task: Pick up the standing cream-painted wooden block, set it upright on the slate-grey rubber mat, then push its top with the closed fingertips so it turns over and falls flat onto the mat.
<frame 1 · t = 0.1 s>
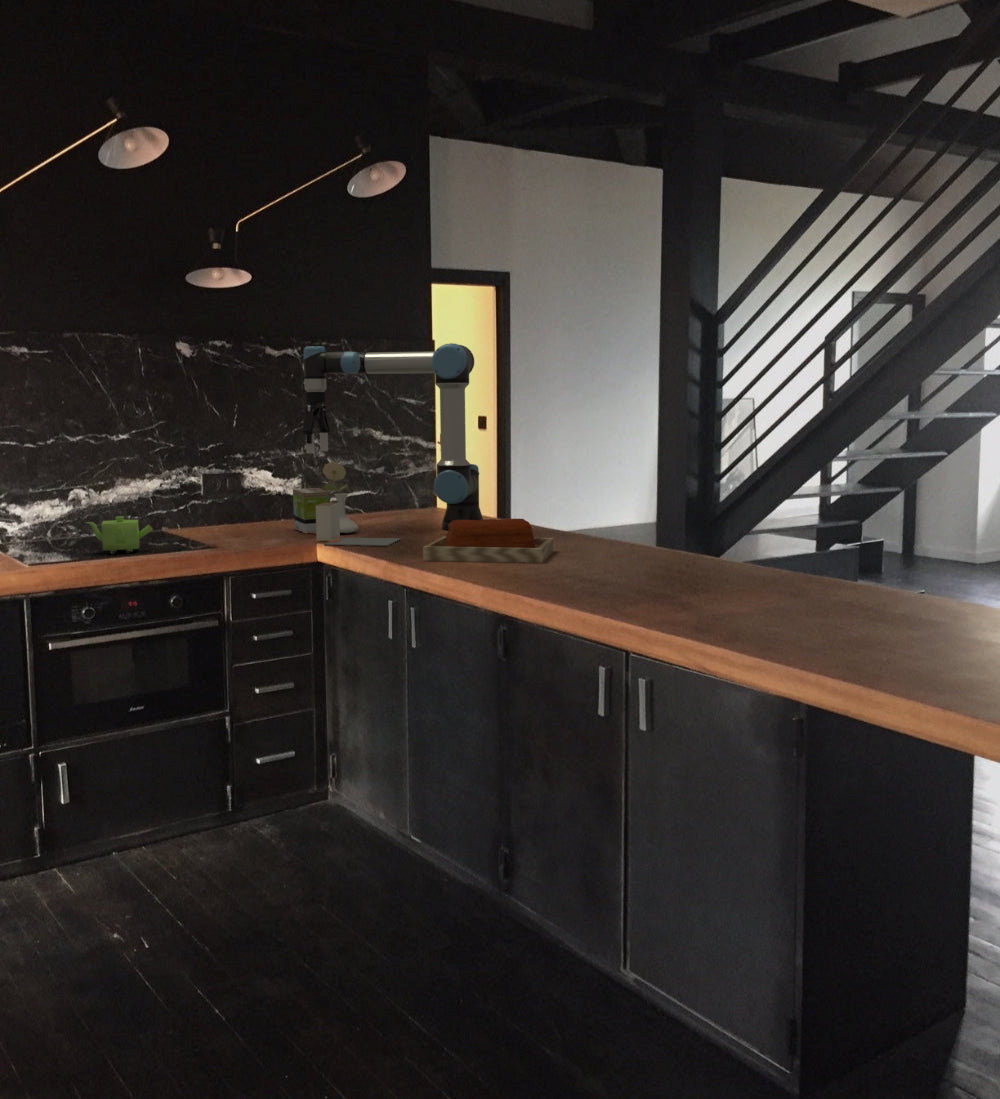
hand: (317, 452, 402), 28 cm above the worktop, tool pointing down, fingers open, 13 cm apart
bread: (490, 555, 342), resting in wooden tray
kettle: (120, 552, 358), on the worktop
tea box: (312, 531, 407), on the worktop
block: (328, 540, 382), on the worktop
mat: (363, 542, 373), on the worktop
wooden tray: (490, 555, 342), on the worktop
flower in vase: (340, 533, 400), on the worktop
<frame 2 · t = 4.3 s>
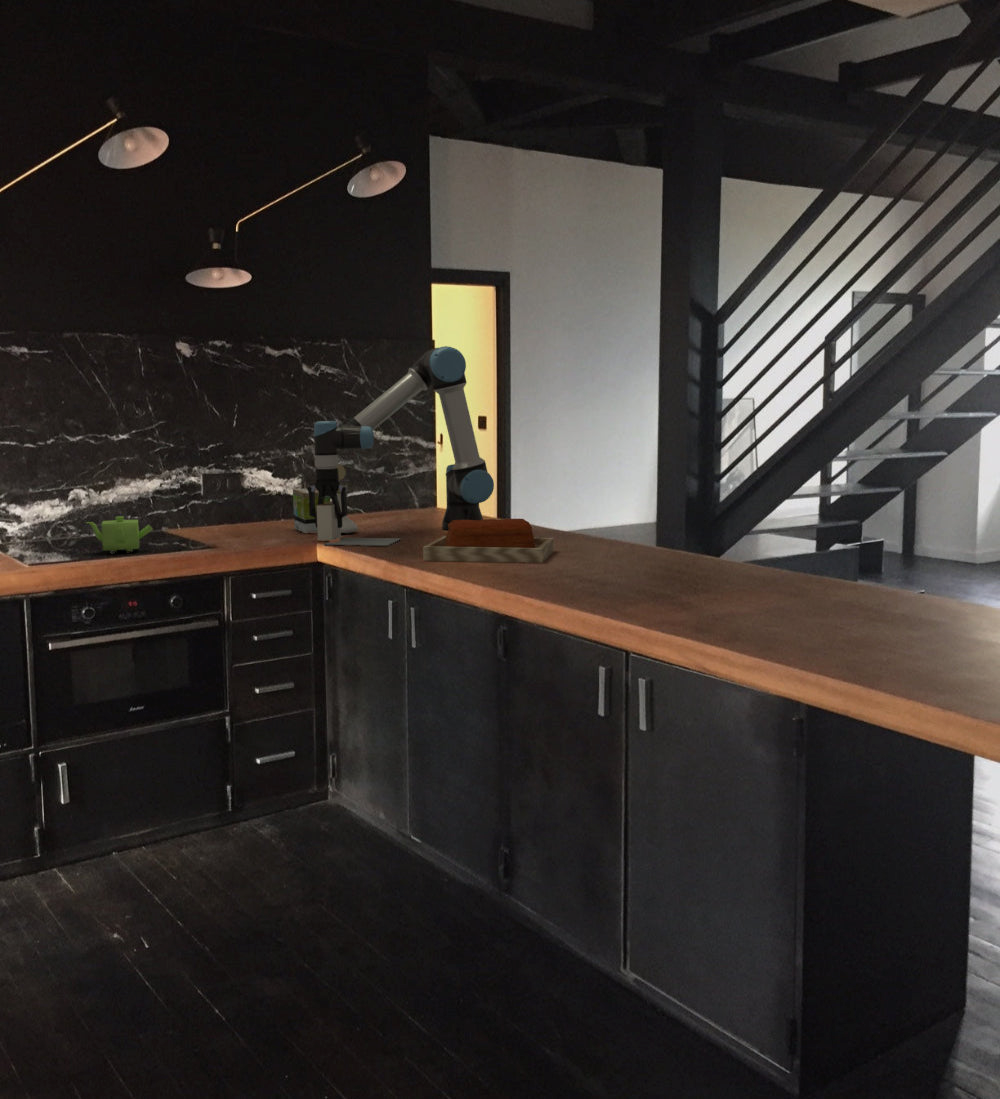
hand: (329, 537, 381), 1 cm above the worktop, tool pointing down, fingers open, 5 cm apart
block: (329, 540, 382), on the worktop, touching gripper
everything else where it was.
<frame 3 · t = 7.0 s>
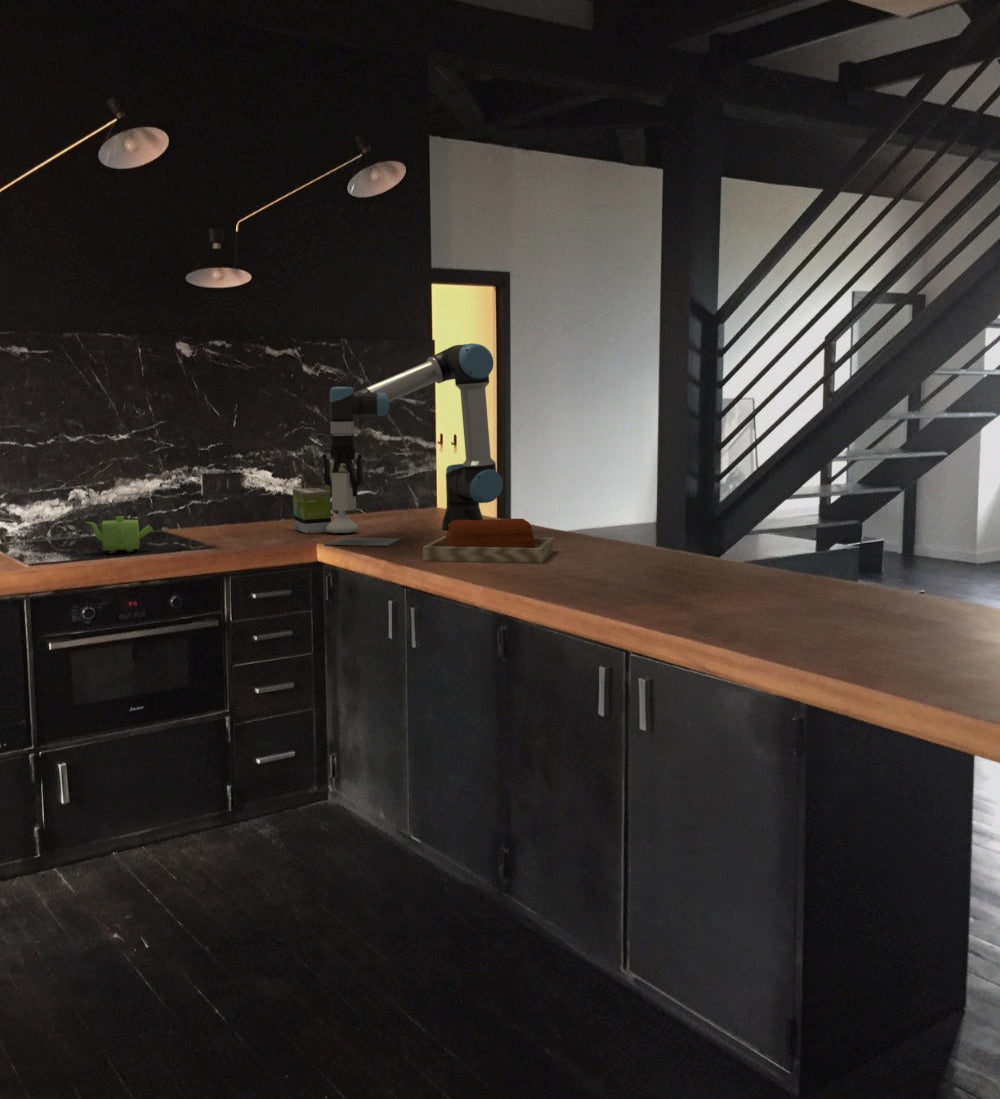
hand: (344, 506, 373), 12 cm above the worktop, tool pointing down, fingers closed on block, 5 cm apart
block: (344, 509, 373), point 11 cm above the worktop, touching gripper
everything else where it was.
when the fingers open (2 cm above the worktop, at t = 8.9 s): block stays where it is, resting on mat.
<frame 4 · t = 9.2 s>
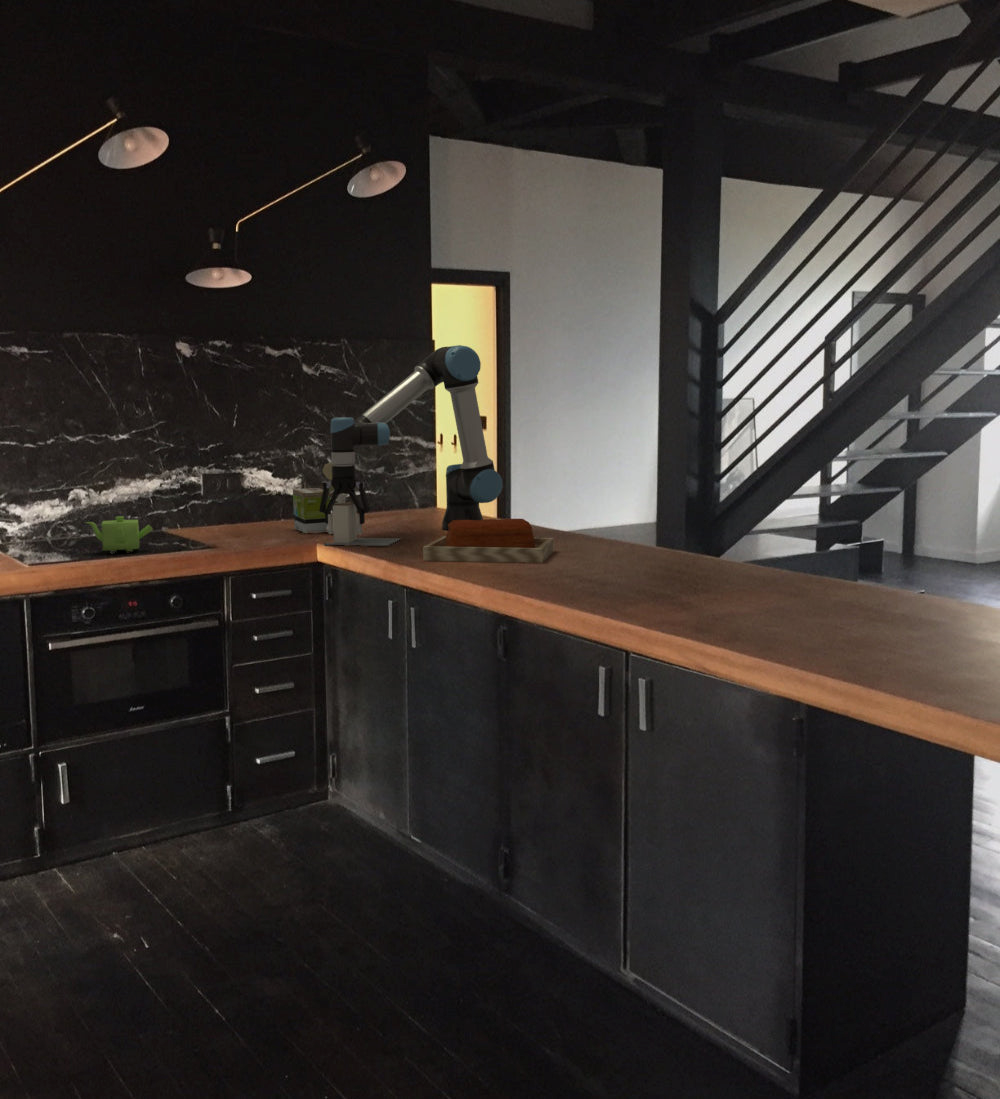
hand: (345, 533, 374), 3 cm above the worktop, tool pointing down, fingers open, 9 cm apart
block: (345, 540, 374), point 1 cm above the worktop, touching mat
everything else where it was.
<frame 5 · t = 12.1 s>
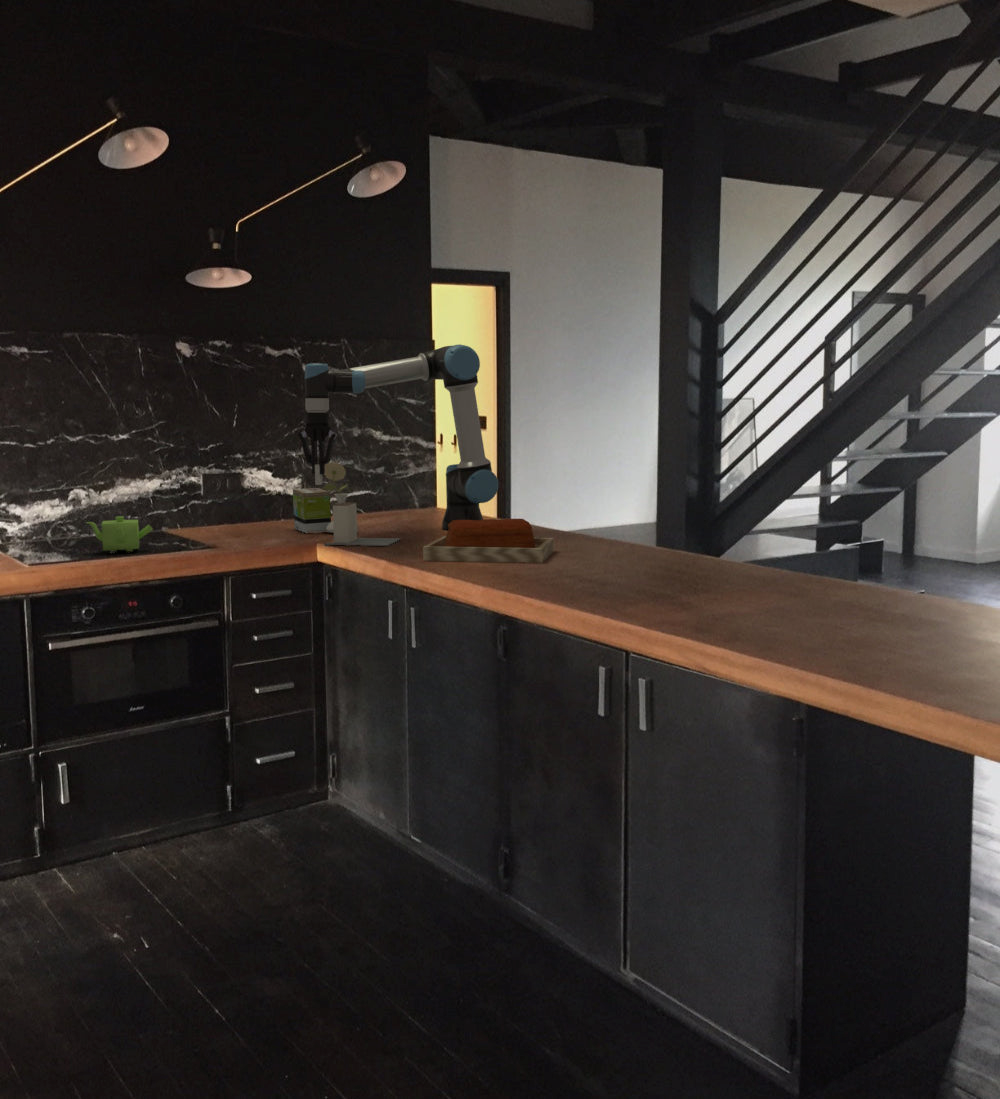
hand: (318, 484, 373), 19 cm above the worktop, tool pointing down, fingers closed
nothing on the worktop moved.
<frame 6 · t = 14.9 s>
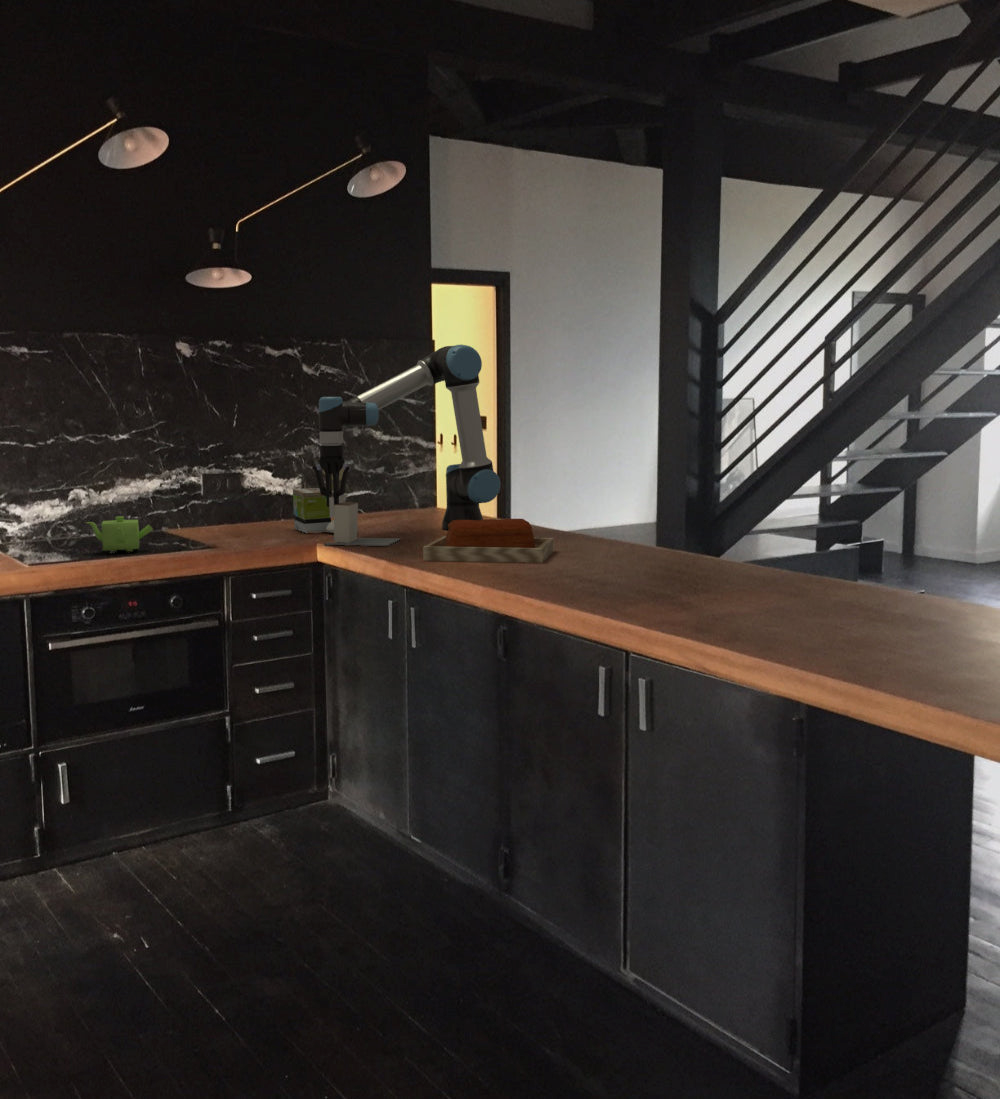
hand: (333, 516, 374), 8 cm above the worktop, tool pointing down, fingers closed
block: (345, 540, 374), point 1 cm above the worktop, touching gripper, mat
everything else where it was.
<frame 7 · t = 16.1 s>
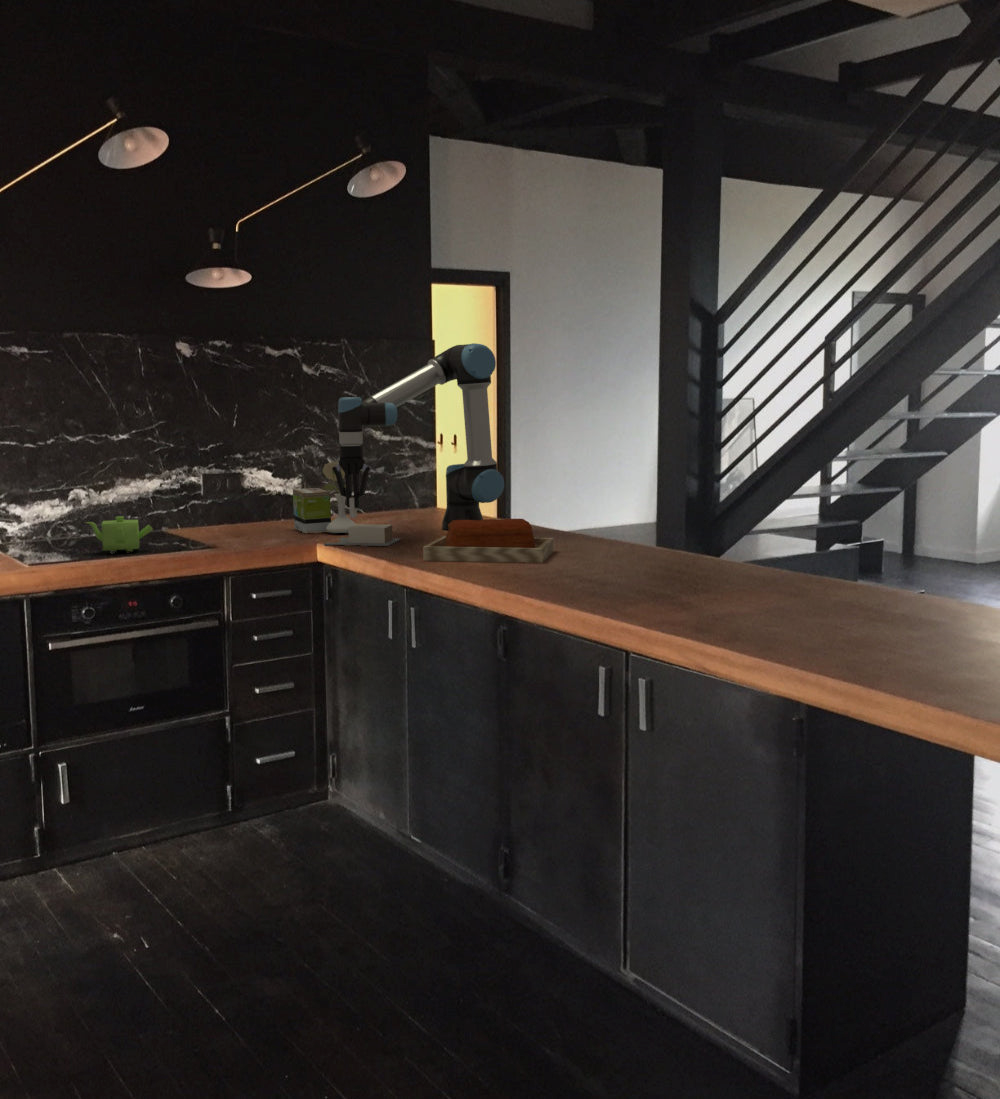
hand: (353, 517, 373), 8 cm above the worktop, tool pointing down, fingers closed
block: (352, 533, 373), point 3 cm above the worktop, tilted 90°, touching mat
everything else where it was.
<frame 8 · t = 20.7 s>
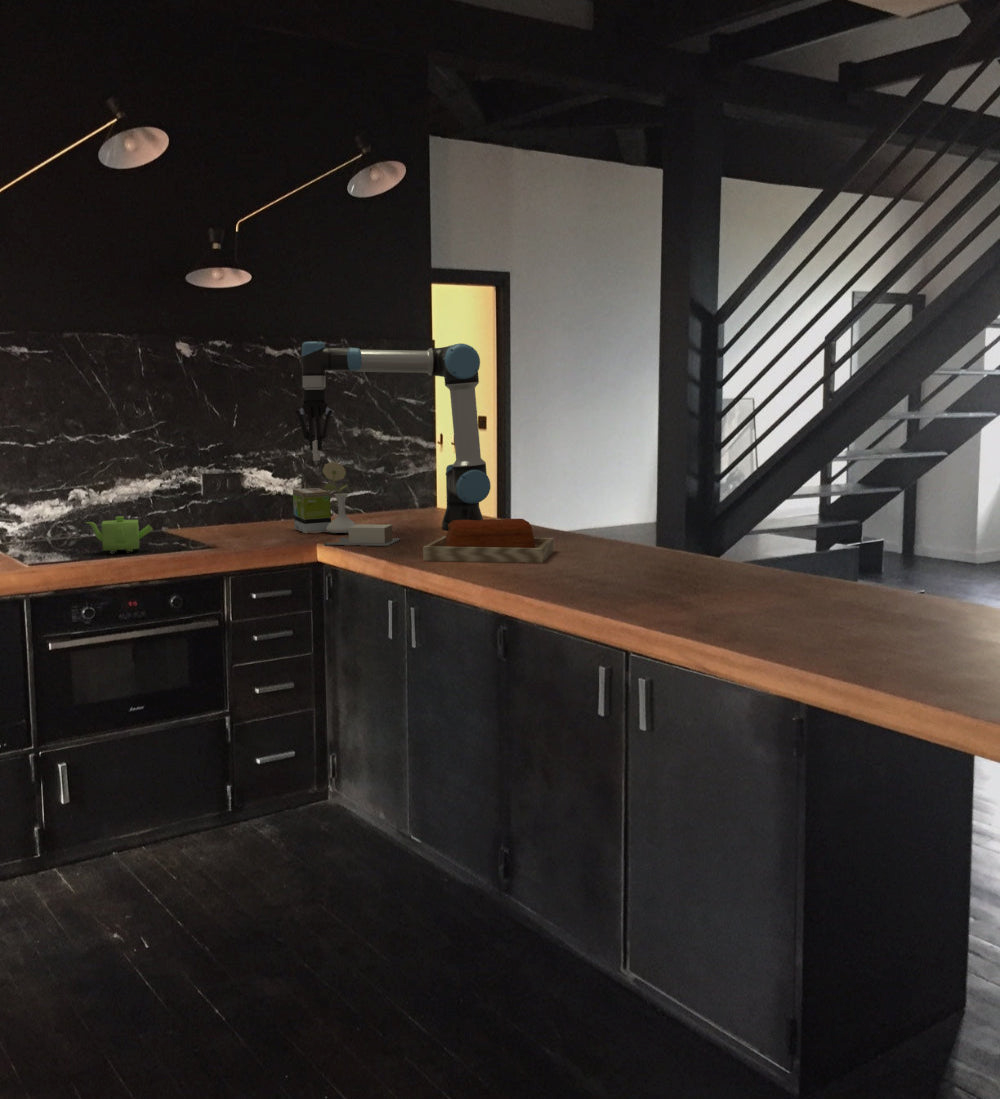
hand: (316, 460, 381), 26 cm above the worktop, tool pointing down, fingers closed
nothing on the worktop moved.
at the end: block tilted 90°; block inside the target area on the mat (3.4 cm from its centre), point 3.1 cm above the mat's base; the gripper is holding nothing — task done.
